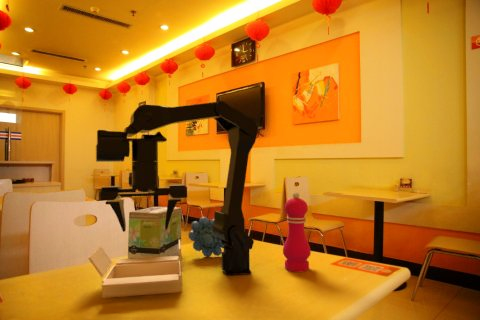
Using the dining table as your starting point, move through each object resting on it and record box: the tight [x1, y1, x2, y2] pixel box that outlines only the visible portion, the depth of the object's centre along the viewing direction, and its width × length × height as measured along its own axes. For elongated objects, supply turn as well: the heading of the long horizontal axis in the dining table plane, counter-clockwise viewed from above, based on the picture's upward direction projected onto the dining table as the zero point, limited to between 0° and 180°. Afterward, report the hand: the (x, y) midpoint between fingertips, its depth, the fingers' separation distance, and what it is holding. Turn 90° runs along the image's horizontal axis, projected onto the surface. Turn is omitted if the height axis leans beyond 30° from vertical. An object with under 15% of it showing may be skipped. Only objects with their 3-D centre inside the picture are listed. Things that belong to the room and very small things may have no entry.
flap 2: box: [178, 240, 184, 272], centre depth 74 cm, size 5×10×1 cm
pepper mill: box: [282, 191, 312, 273], centre depth 85 cm, size 7×7×20 cm
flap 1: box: [87, 246, 113, 278], centre depth 71 cm, size 5×10×1 cm
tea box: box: [127, 206, 182, 264], centre depth 94 cm, size 15×10×15 cm, turn 168°
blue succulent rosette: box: [188, 216, 226, 258], centre depth 95 cm, size 12×7×12 cm, turn 94°
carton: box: [101, 255, 183, 299], centre depth 72 cm, size 16×18×4 cm
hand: (145, 230), depth 73 cm, fingers open, 9 cm apart
